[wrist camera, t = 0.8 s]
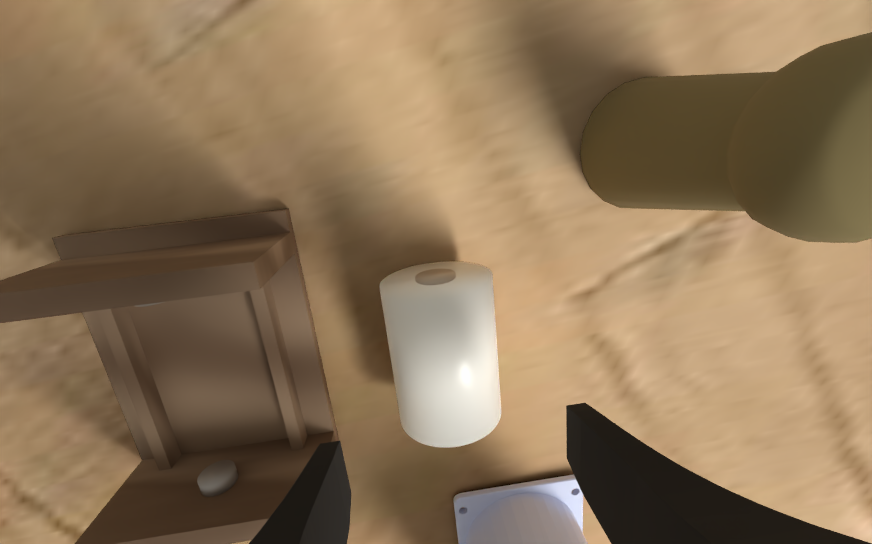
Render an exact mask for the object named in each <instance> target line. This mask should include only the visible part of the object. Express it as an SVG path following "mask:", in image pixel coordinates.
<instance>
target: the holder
mask: <svg viewBox="0 0 872 544" xmlns="http://www.w3.org/2000/svg"><path fill="white" fill-rule="evenodd" d="M52 239H53V241H54V244H55V246H56V249H57V251H58V254H59V256H60V259H61V260H60V261H57V262H54V263H51V264H48V265H45V266H42V267H39V268H36V269H33V270H30V271H27V272H24V273H21V274H18V275H15V276H12V277H9V278H6V279H4V280H1V281H0V323H5V322H12V321H20V320H28V319H35V318H43V317H51V316H59V315H66V314H74V313H83V315H84V318H85V320H86V323H87V325H88V328H89V330H90V333H91V335H92V338H93V340H94V343H95V345H96V348H97V350H98V352H99V355H100V357H101V360H102V362H103V365H104V367H105V370H106V372H107V375H108V377H109V380H110V382H111V384H112V387H113V389H114V392H115V394H116V397H117V399H118V402H119V404H120V407H121V409H122V412H123V414H124V417H125V419H126V421H127V424H128V426H129V429H130V431H131V434H132V436H133V439H134V441H135V444H136V446H137V449H138V451H139V454H140V456H141V458H142V461H141V462H140V464H139V465H138V466H137V467H136V469H135V470H134V471H133V472H132V474H131V475H130V476H129V477H128V479H127V480H126V481H125V482H124V484H123V485H122V486H121V487H120V488H119V490H118V491H117V492H116V493H115V495H114V496H113V497H112V498H111V500H110V501H109V502H108V503H107V505H106V506H105V507H104V508H103V510H102V511H101V512H100V513H99V514H98V516H97V517H96V518H95V519H94V521H93V522H92V523H91V524H90V526H89V527H88V528H87V529H86V531H85V532H84V533H83V534H82V535H81V537H80V538H79V539H78V540H77V542H76V543H75V544H231V543H237V542H243V541H249V540H252V539H253V538H254V537H255V536H256V534H257V533H258V532H259V531H260V529H261V528H262V527H263V525H264V524H265V523H266V521H267V520H268V519H269V518H270V516H271V515H272V514H273V512H274V511H275V510H276V508H277V507H278V506H279V504H280V503H281V501H282V500H283V499H284V497H285V496H286V494H287V493H288V491H289V490H290V488H291V487H292V485H293V484H294V483H295V481H296V480H297V478H298V477H299V475H300V473H301V472H302V470H303V469H304V467H305V466H306V464H307V463H308V461H309V459H310V458H311V456H312V455H313V453H314V451H315V450H316V448H317V447H318V446H319V444H321V443H327V442H334V441H339V439H338V434H337V430H336V425H335V421H334V416H333V411H332V407H331V402H330V398H329V393H328V388H327V384H326V379H325V375H324V370H323V365H322V361H321V356H320V352H319V347H318V342H317V338H316V333H315V328H314V324H313V319H312V315H311V310H310V305H309V301H308V296H307V292H306V287H305V282H304V278H303V273H302V269H301V264H300V259H299V255H298V250H297V246H296V241H295V236H294V232H293V227H292V223H291V218H290V213H289V209H282V210H273V211H265V212H256V213H248V214H239V215H231V216H222V217H214V218H205V219H197V220H188V221H180V222H171V223H163V224H154V225H146V226H137V227H129V228H120V229H112V230H103V231H95V232H86V233H78V234H69V235H62V236H58V237H54V238H52Z"/></svg>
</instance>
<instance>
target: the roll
mask: <svg viewBox="0 0 872 544" xmlns="http://www.w3.org/2000/svg"><path fill="white" fill-rule="evenodd" d="M379 287H380V294H381V300H382V307H383V313H384V319H385V326H386V332H387V338H388V345H389V351H390V357H391V364H392V370H393V376H394V383H395V389H396V395H397V402H398V408H399V415H400V421H401V425H402V427H403V429H404V431H405V432H406V433H407V434H408V435H409V436H410V437H411V438H412V439H414V440H416V441H418V442H420V443H422V444H425V445H428V446H433V447H442V448H443V447H458V446H463V445H467V444H470V443H473V442H476V441H478V440H480V439H482V438H483V437H485V436H486V435H488V434H489V433H490V432H491V431H492V430H493V429H494V428H495V427H496V426H497V424H498V422H499V420H500V417H501V399H500V384H499V368H498V353H497V338H496V323H495V307H494V292H493V277H492V272H491V270H490V269H488V268H487V267H485V266H483V265H479V264H476V263H470V262H459V261H445V262H435V263H427V264H420V265H415V266H411V267H407V268H404V269H401V270H399V271H396V272H394V273H392V274H390V275H388V276H387V277H385V278H384V279H383V280H382V281H381V282H380V285H379Z"/></svg>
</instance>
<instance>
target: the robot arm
mask: <svg viewBox="0 0 872 544" xmlns="http://www.w3.org/2000/svg"><path fill="white" fill-rule="evenodd" d="M567 459H568V462H569V464H570V466H571V469H572V471H573V474H574V475H567V476H561V477H555V478H549V479H543V480H537V481H531V482H525V483H518V484H512V485H506V486H500V487H494V488H488V489H482V490H476V491H470V492H464V493H459V494H457V495H456V496H455V497H454V500H453V502H454V510H455V519H456V527H457V536H458V544H588V543H587V541H586V539H585V537H584V535H583V495H584V497H585V498H586V500H587V502H588V504H589V505H590V507H591V509H592V511H593V512H594V514H595V516H596V518H597V519H598V521H599V523H600V525H601V526H602V528H603V530H604V531H605V533H606V535H607V537H608V538H609V540H610V542H611V544H871V543H868V542H865V541H862V540H859V539H856V538H853V537H849V536H846V535H843V534H840V533H837V532H834V531H831V530H828V529H824V528H821V527H818V526H815V525H812V524H810V523H807V522H804V521H802V520H799V519H796V518H794V517H791V516H788V515H786V514H783V513H780V512H778V511H775V510H773V509H770V508H768V507H765V506H763V505H760V504H758V503H756V502H753V501H751V500H749V499H747V498H744V497H742V496H740V495H738V494H735V493H733V492H731V491H729V490H727V489H725V488H723V487H720V486H718V485H716V484H714V483H712V482H710V481H708V480H707V479H705V478H703V477H701V476H699V475H697V474H695V473H693V472H691V471H689V470H687V469H686V468H684V467H682V466H680V465H678V464H677V463H675V462H673V461H672V460H670V459H668V458H667V457H665V456H663V455H662V454H660V453H658V452H657V451H655V450H654V449H652V448H650V447H649V446H647V445H646V444H644V443H643V442H641V441H640V440H638V439H637V438H635V437H634V436H632V435H631V434H629V433H628V432H626V431H625V430H623V429H622V428H620V427H619V426H618V425H616V424H615V423H613V422H612V421H610V420H609V419H608V418H606V417H605V416H603V415H602V414H600V413H599V412H598V411H596V410H595V409H593V408H592V407H591V406H589V405H588V404H586V403H581V404H574V405H568V406H567ZM575 488H576V489H575ZM573 489H574V490H573ZM462 507H465V508H462ZM350 508H351V489H350V485H349V480H348V475H347V471H346V466H345V461H344V457H343V452H342V448H341V443H340V441H334V442H327V443H321V444H319V446H318V447H317V448H316V450H315V451H314V453H313V455H312V456H311V458H310V459H309V461H308V463H307V464H306V466H305V467H304V469H303V470H302V472H301V473H300V475H299V477H298V478H297V480H296V481H295V483H294V484H293V485H292V487H291V488H290V490H289V491H288V493H287V494H286V496H285V497H284V499H283V500H282V501H281V503H280V504H279V506H278V507H277V508H276V510H275V511H274V512H273V514H272V515H271V516H270V518H269V519H268V520H267V521H266V523H265V524H264V525H263V527H262V528H261V529H260V531H259V532H258V533H257V534H256V536H255V537H254V538H253V539H252V541H251V542H250V543H249V544H347V539H348V533H349V524H350Z"/></svg>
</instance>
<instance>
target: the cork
mask: <svg viewBox="0 0 872 544" xmlns="http://www.w3.org/2000/svg"><path fill="white" fill-rule="evenodd" d="M580 156H581V163H582V170H583V174H584V176H585V178H586V180H587V182H588V184H589V186H590V188H591V189H592V190H593V191H594V192H595V193H596V194H597V195H598V196H599V197H600V198H601V199H602V200H603V201H605V202H608V203H610V204H612V205H615V206H617V207H620V208H641V209H679V210H716V211H746V212H747V213H748V215H749V216H750V217H751V218H752V219H753V220H755V221H757V222H759V223H760V224H762V225H764V226H766V227H768V228H770V229H772V230H774V231H777V232H779V233H781V234H783V235H786V236H788V237H791V238H796V239H800V240H804V241H808V242H830V243H855V242H860V241H864V240H867V239H871V238H872V32H871V33H867V34H863V35H860V36H856V37H852V38H848V39H844V40H841V41H837V42H834V43H830V44H826V45H823V46H820V47H818V48H816V49H814V50H812V51H810V52H808V53H806V54H804V55H802V56H800V57H799V58H797V59H795V60H794V61H792V62H791V63H789V64H788V65H786V66H785V67H783V68H781V69H780V70H778V71H777V72H762V73H738V74H715V75H691V76H667V77H644V78H641V79H637V80H633V81H630V82H626V83H624V84H622V85H621V86H619V87H618V88H616V89H615V90H613V91H612V92H610V93H609V94H607V95H606V96H605V97H604V99H603V100H602V101H601V102H600V103H599V104H598V106H597V107H596V108H595V109H594V110H593V112H592V114H591V116H590V118H589V120H588V122H587V125H586V127H585V129H584V131H583V137H582V143H581V150H580Z"/></svg>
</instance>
